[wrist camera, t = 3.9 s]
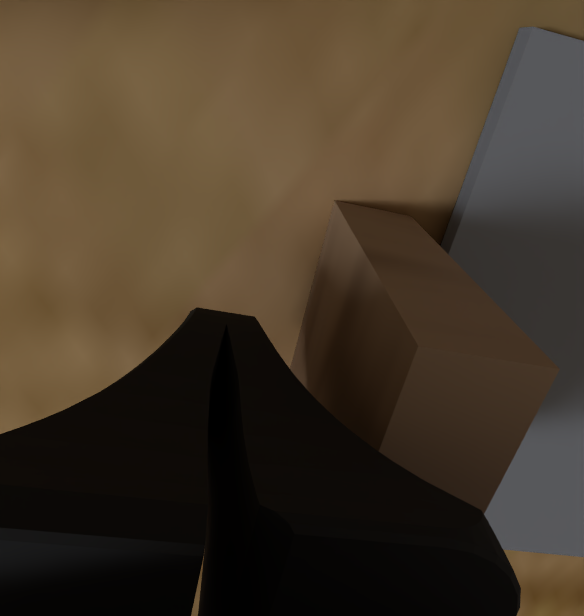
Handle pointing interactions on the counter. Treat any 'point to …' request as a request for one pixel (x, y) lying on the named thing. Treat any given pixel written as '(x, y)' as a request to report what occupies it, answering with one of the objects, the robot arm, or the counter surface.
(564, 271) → the mat
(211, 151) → the counter surface
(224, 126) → the counter surface
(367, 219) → the slab
